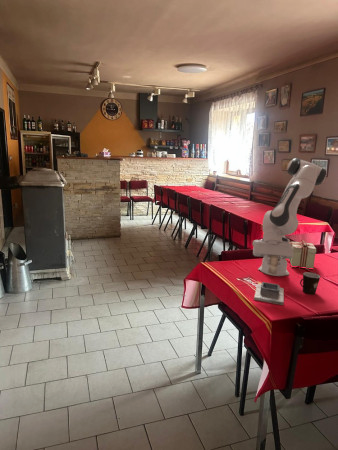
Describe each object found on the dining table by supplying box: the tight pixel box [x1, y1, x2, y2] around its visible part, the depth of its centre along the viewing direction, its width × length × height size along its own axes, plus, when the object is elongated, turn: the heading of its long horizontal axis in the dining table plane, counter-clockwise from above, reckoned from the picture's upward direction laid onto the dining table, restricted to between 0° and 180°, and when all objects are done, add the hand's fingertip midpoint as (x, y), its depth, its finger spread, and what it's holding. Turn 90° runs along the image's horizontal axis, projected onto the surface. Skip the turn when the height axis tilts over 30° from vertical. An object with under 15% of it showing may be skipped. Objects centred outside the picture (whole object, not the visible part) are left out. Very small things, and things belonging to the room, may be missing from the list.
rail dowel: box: [268, 256, 278, 274], centre depth 172 cm, size 4×4×8 cm
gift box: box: [288, 239, 317, 269], centre depth 228 cm, size 17×18×17 cm
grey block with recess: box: [253, 281, 285, 306], centre depth 175 cm, size 20×14×5 cm
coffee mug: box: [299, 272, 321, 296], centre depth 182 cm, size 12×9×10 cm
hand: (273, 264), depth 171 cm, fingers closed on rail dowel, 4 cm apart
